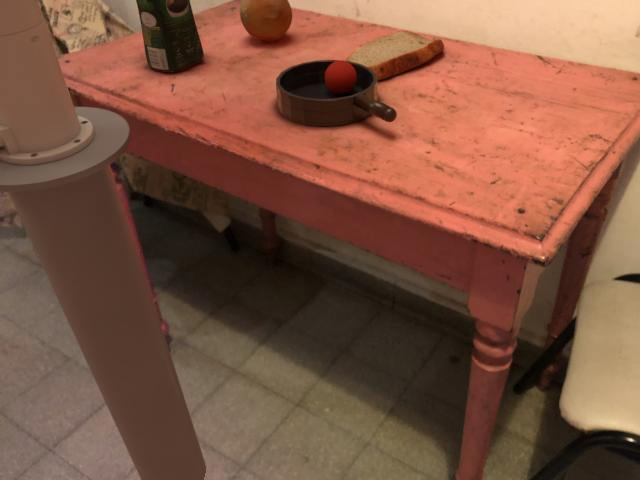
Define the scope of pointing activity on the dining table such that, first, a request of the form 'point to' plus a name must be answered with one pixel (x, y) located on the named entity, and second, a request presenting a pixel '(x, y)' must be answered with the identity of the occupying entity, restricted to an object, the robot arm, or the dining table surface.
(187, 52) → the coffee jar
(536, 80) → the dining table surface
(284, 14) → the onion
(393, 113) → the pan handle
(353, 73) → the ball
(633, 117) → the dining table surface
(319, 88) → the pan
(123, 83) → the dining table surface
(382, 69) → the bread slice
